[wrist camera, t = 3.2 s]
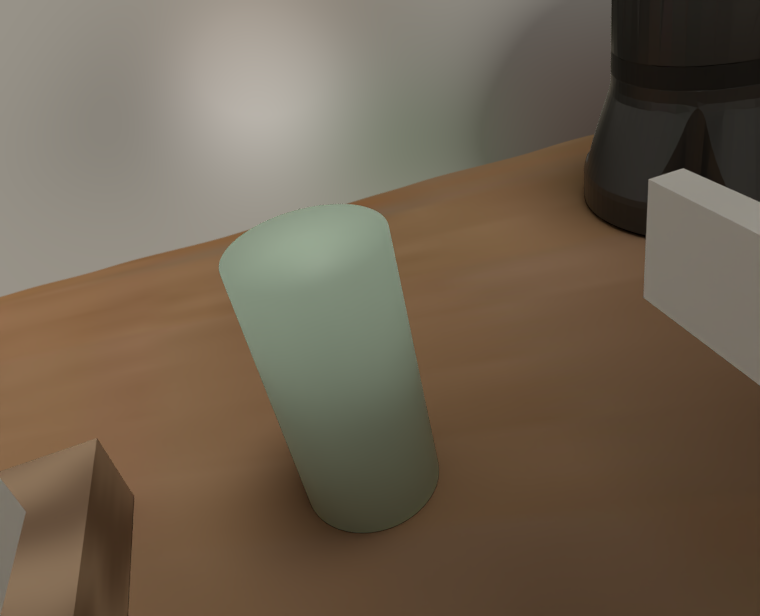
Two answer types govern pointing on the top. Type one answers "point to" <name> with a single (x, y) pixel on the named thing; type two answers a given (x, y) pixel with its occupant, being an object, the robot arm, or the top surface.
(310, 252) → the green post
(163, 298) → the top surface
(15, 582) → the walnut base
